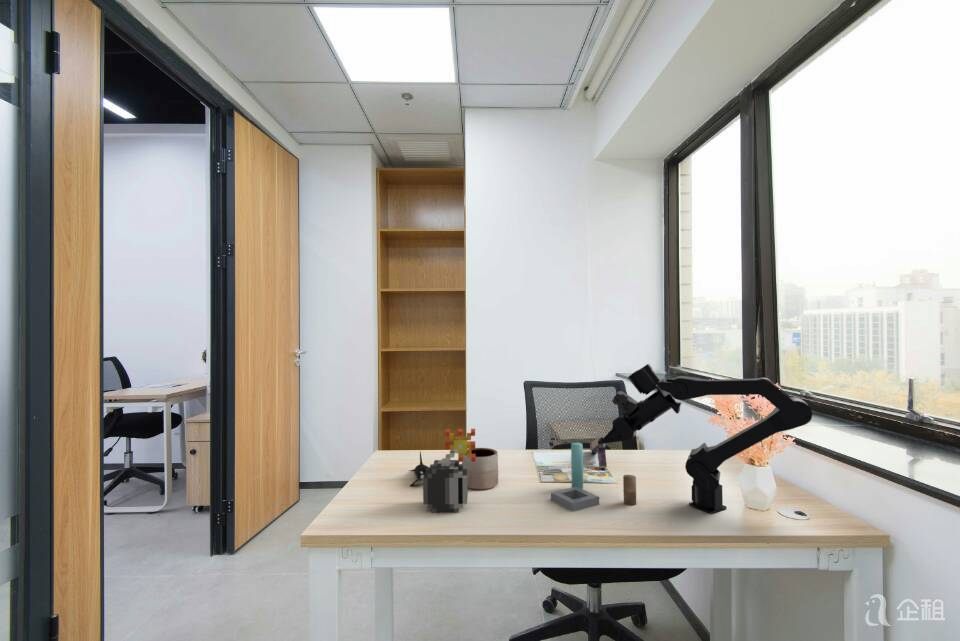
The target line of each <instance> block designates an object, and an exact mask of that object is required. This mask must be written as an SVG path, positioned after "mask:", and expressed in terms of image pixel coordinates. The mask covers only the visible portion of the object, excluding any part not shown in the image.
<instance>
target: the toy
mask: <svg viewBox="0 0 960 641" xmlns="http://www.w3.org/2000/svg"><path fill="white" fill-rule="evenodd" d="M429 467H430V466H428V465H426V464H424V463H423V459H422V453H421V451H419V464H418V465H416V466H415V468H414V469H411V470H408V472H414V475H415V477H416V478H417V479H416V480H414V481H413V482H412V483H411V484H410V485H409V487H412V486H414V484H416V483H417V482H418V481H420V480H422V481H423V477H424V474H425V471H426V469H429Z"/></svg>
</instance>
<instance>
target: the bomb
mask: <svg viewBox="0 0 960 641" xmlns="http://www.w3.org/2000/svg"><path fill="white" fill-rule="evenodd" d="M457 430H458V431H457V436H456V437H455V432H451V428H446V429H445V432H444V437H449V438H448V439H449V441H445V445H444V447H445V450H449V453H446V454H445V458H441V459H435V460H434V461H433V464H430V465H429V466H428V467H429V469H426V471H425V474H424V477H423V480H422V489H423V490H422V496H423V497H422V500H423V502H422V503H423V504H422V505H427V510H431V514H459V512H460V510H459V509H464V505H468V492H469V491H468V489H469V488H468V475H467V468H463V464H462V462H463V453H467V457H471V462H475V454H471V450H467V449H475V448H476V441H475V440H474V441H473V440H472V437H475V436H476V428H470V432H467V433H466V436H464V434H463V433H464V432H463V431H464V430H463V428H458V429H457ZM455 454H457V457H458V458H457V459H453V458H455ZM451 458H452V459H451Z"/></svg>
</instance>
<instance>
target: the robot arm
mask: <svg viewBox="0 0 960 641" xmlns="http://www.w3.org/2000/svg"><path fill="white" fill-rule="evenodd" d="M627 379H628V381H630V383H632V385H633V386H634V388H635V389H636V390H637V392H638V393H639V394H640V395H641V394H643V395H645V396H647V395H649V394H650V393H651V392H653V391H654V390H656V391H655V392H653V393H651V395H649V396H648V397H646V398H645V399H643V400H642V399H641V400H640V401H637V400H636V399H635V398H633V397H632V396H630V395H629V394H627V393H626V392H624V391H622V390H619V391H617V393H616V394H615V396H613V399H612V400H611V402H612V404H614V405H617V406H618V407H619V408H621V409H622V410H624V412H623V414H620V415H619V416H617V417H616V418H614V419H613V420H612V422H611V424H612V428H611V430H610V431H608V433H607V434H605V436H603V437H604V438H603V439H602V442H603V443H604V444H605V445H606V444H610V443H618V442H627V441H630V440H632V439H633V438H635V436H636V435H637V431H641V430H643V428H644V427H646V426H648V425H649V424H651V423H652V422H654V421H655V420H656V419H658V418H659V417H661V416H662V415H664V414H665V413H667V412H668V411H670V410H671V409H672V411H674V413H675V414H679V413H680V412H681V405H682V402H681V401H684V400H685V401H686V400H691V399H692V400H693V399H697V398H701V397H706V396H731V395H732V396H733V395H734V396H738V395H739V396H740V395H741V396H742V395H743V396H744V395H748V396H750V395H760V396H762V397H763V398H765V400H767V401H768V402H769V403H771V405H773V406H774V408H773V409H772V410H773V411H772V410H771V411H772V412H771V411H770V412H771V413H768V414H767V415H765V417H764V418H762V419H760V420H758V421H757V422H754V423H753V424H752V425H750V426H748V427H746V428H744V429H742V430H741V431H738V432H737V433H735V434H734V435H732V436H730V437H728V438H726V439H725V440H723V441H722V442H719V443H718V444H716V445H712V446H708V445H707V444H706V442H702V444H701V445H700V446H698V447H696V448H693V449H691V450H690V453H689V455H688V456H687V459H686V462H685V467H684V468H685V472H686V473H687V475H688V476H689V477H691V478H692V479H693V480H692V485H691V501H690V502H689V503H688V505H689V506H690V507H694V508H696V509H699V510H700V511H703V512H706V513H709V514H714V513H716V512H720V511H723V510H726V509H727V505H723V501H724V500H723V484H720V481H721V480H720V478H721V472H720V470H719V469H718V468H719V467H720V466H721V465H723V463H724V462H725V461H727V460H729V459H731V458H733V457H734V456H737V455H738V454H740V453H742V452H744V451H745V450H747V449H750V447H753V446H754V445H756V444H759V443H761V442H762V441H764V440H766V439H768V438H770V437H771V436H773V435H775V434H778V433H781V432H786V431H790V430H793V429H796V428H799V427H803V426H806V425H807V424H809V423H810V422H811V420H812V419H813V411H812V409H811V407H810V406H809V405H808V403H807V402H806V401H805V400H803V399H801V398H800V397H794V396H791V395H790V394H788V392H786V391H784V390H783V389H781V388H780V387H779V386H777V385H776V384H774V382H772V381H771V380H770V379H769V378H767V377H765V376H764V377H757V378H729V379H728V378H725V379H724V378H723V379H705V378H701V377H696V376H688V375H687V376H686V375H680V376H677V377H675V378H673V379H672V378H662V379H661V378H660V377H659V376H658V374H657V373H656V372H655V371H654V369H653V367H652V366H651V365H650V363H647V364H645V365H644V366H642V367H641V368H639V369H637V370H636V371H634V372H633V373H631V374H630V375H628V376H627ZM779 389H780V390H779ZM676 400H678V401H676Z"/></svg>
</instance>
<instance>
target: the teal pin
mask: <svg viewBox="0 0 960 641" xmlns="http://www.w3.org/2000/svg"><path fill="white" fill-rule="evenodd" d="M570 449H571V450H570V451H571V452H570V454H571V455H570V456H571V458H570V460H571V461H570V462H571V470H570V471H571V488H572V487H576V486H577V487H579V488H581V489H583V490H584V468H583V467H584V465H583V463H584V462H583V461H584V456H583V450H584V448H583V443H581V442H571V443H570Z"/></svg>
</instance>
